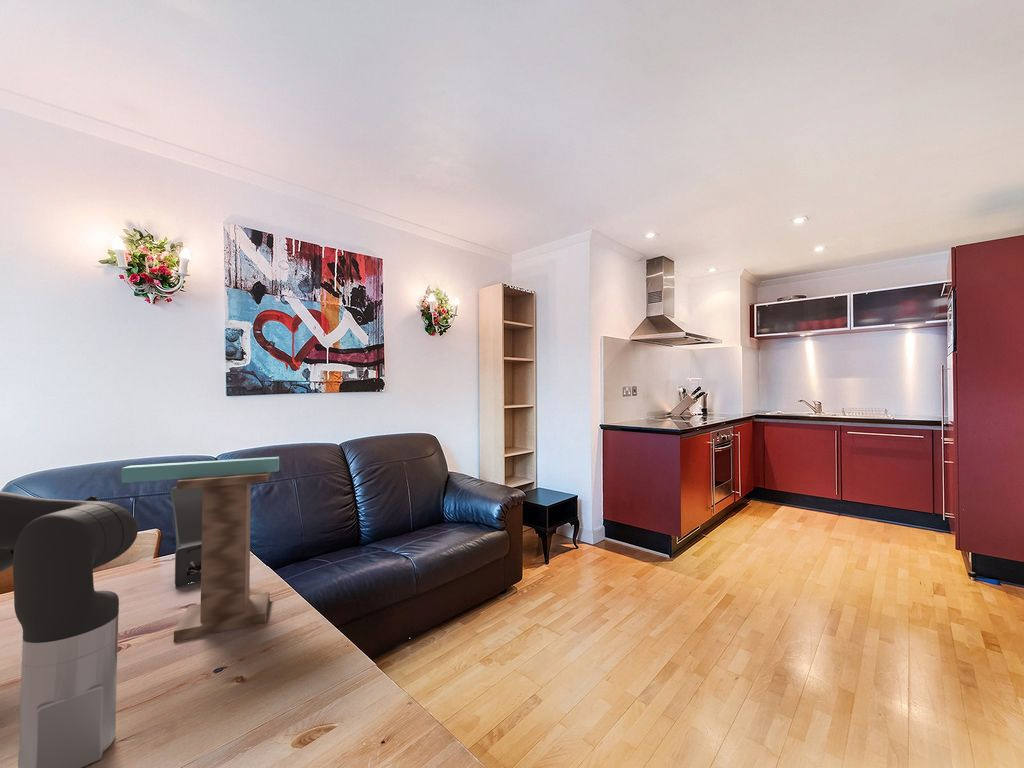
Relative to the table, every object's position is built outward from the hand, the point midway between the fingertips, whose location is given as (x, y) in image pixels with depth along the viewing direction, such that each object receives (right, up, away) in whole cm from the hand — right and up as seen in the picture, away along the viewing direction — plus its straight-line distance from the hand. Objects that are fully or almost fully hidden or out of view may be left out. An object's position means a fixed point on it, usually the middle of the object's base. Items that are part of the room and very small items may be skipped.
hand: (88, 503), depth 86 cm
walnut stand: (+22, -28, +9) cm, 37 cm away
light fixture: (-5, -30, +35) cm, 47 cm away
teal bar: (+18, +4, +9) cm, 20 cm away
